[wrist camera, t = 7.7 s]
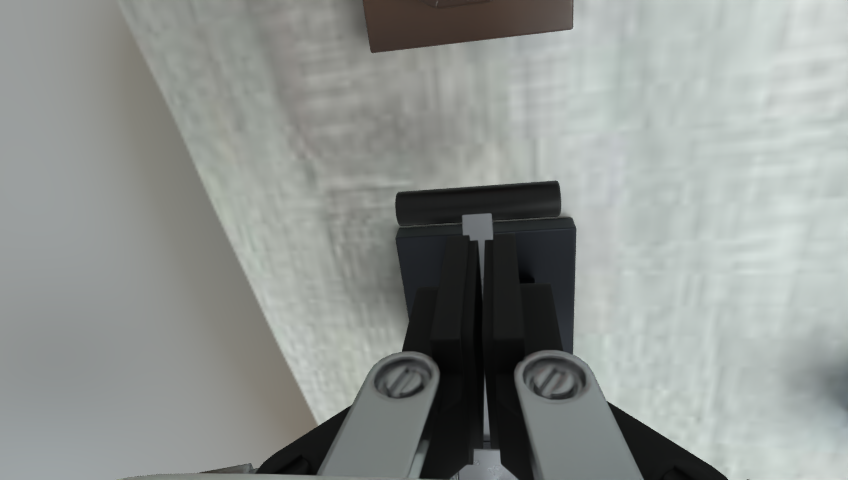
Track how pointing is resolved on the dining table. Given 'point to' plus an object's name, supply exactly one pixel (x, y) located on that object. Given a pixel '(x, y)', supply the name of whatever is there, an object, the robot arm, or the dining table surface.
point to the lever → (480, 253)
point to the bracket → (536, 254)
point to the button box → (459, 21)
